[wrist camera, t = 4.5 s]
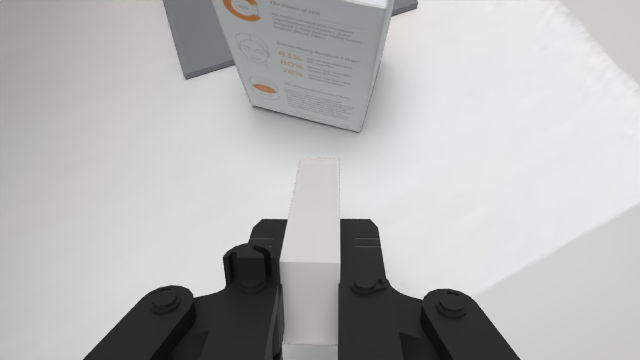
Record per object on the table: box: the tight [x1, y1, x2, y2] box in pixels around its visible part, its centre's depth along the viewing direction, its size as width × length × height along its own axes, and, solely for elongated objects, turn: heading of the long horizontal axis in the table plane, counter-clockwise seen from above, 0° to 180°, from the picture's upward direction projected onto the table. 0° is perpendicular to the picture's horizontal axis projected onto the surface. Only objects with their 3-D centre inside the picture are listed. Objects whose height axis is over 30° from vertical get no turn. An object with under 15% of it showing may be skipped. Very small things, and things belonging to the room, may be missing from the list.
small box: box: [211, 0, 395, 132], centre depth 24 cm, size 8×6×13 cm
